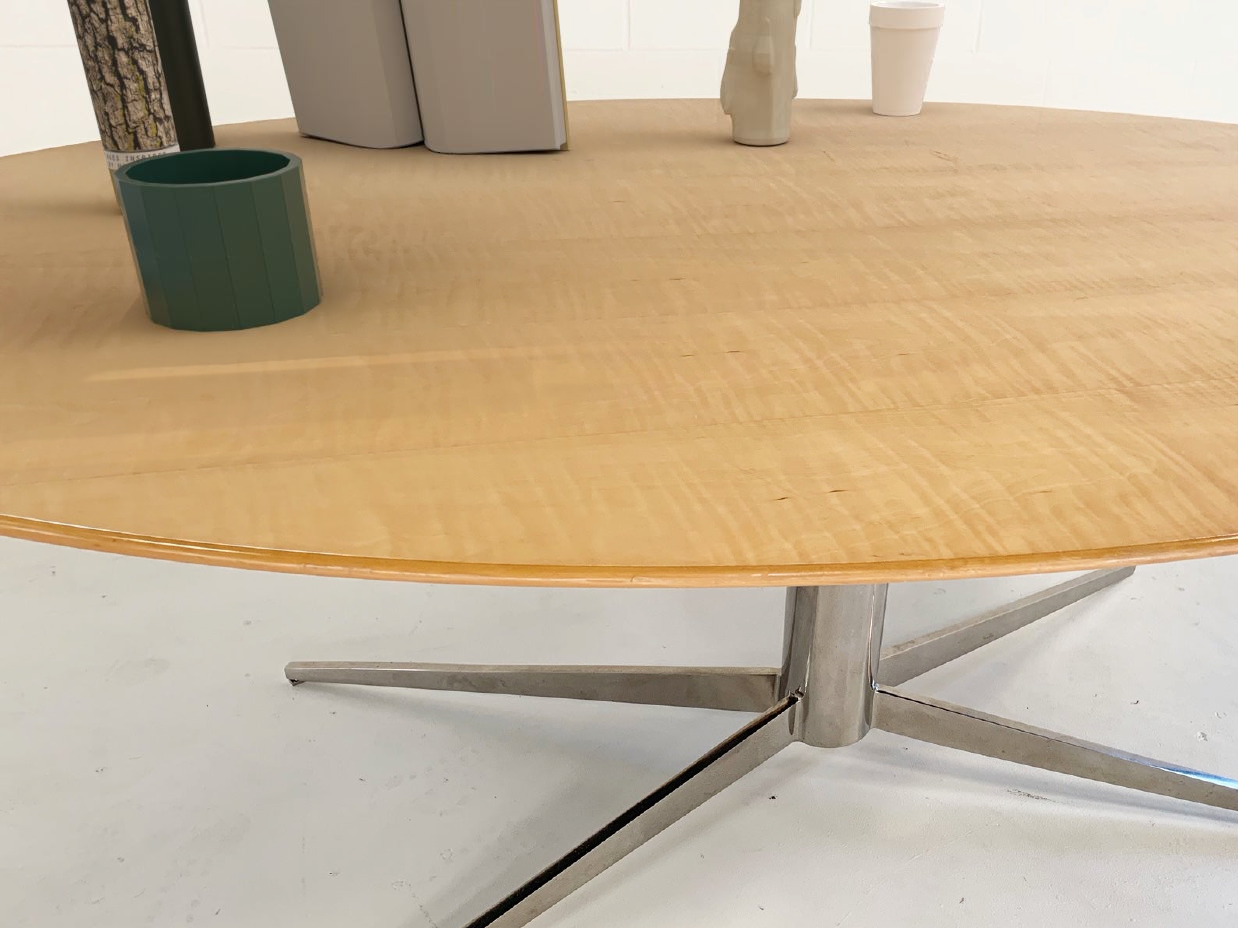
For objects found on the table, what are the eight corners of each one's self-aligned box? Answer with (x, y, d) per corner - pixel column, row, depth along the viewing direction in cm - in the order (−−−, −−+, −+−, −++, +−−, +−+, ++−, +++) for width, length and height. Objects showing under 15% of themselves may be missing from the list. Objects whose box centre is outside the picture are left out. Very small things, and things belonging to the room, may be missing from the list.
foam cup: (944, 110, 156) (957, 3, 149) (909, 120, 150) (921, 9, 143) (883, 103, 161) (894, -1, 154) (847, 112, 155) (856, 5, 149)
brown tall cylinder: (199, 208, 113) (138, -85, 100) (128, 219, 110) (54, -83, 97) (180, 195, 118) (119, -87, 105) (111, 205, 115) (39, -85, 102)
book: (575, 145, 137) (553, -90, 121) (550, 168, 131) (523, -75, 116) (313, 128, 147) (261, -89, 132) (279, 149, 142) (221, -76, 126)
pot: (132, 343, 81) (93, 190, 76) (168, 289, 92) (136, 150, 86) (314, 333, 83) (289, 182, 77) (329, 280, 93) (308, 144, 88)
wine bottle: (205, 151, 137) (146, -148, 121) (158, 151, 137) (92, -148, 121) (222, 142, 141) (167, -148, 125) (176, 141, 142) (115, -147, 126)
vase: (774, 151, 135) (790, -154, 119) (709, 144, 138) (716, -153, 122) (803, 138, 141) (822, -153, 125) (740, 131, 144) (751, -152, 129)
